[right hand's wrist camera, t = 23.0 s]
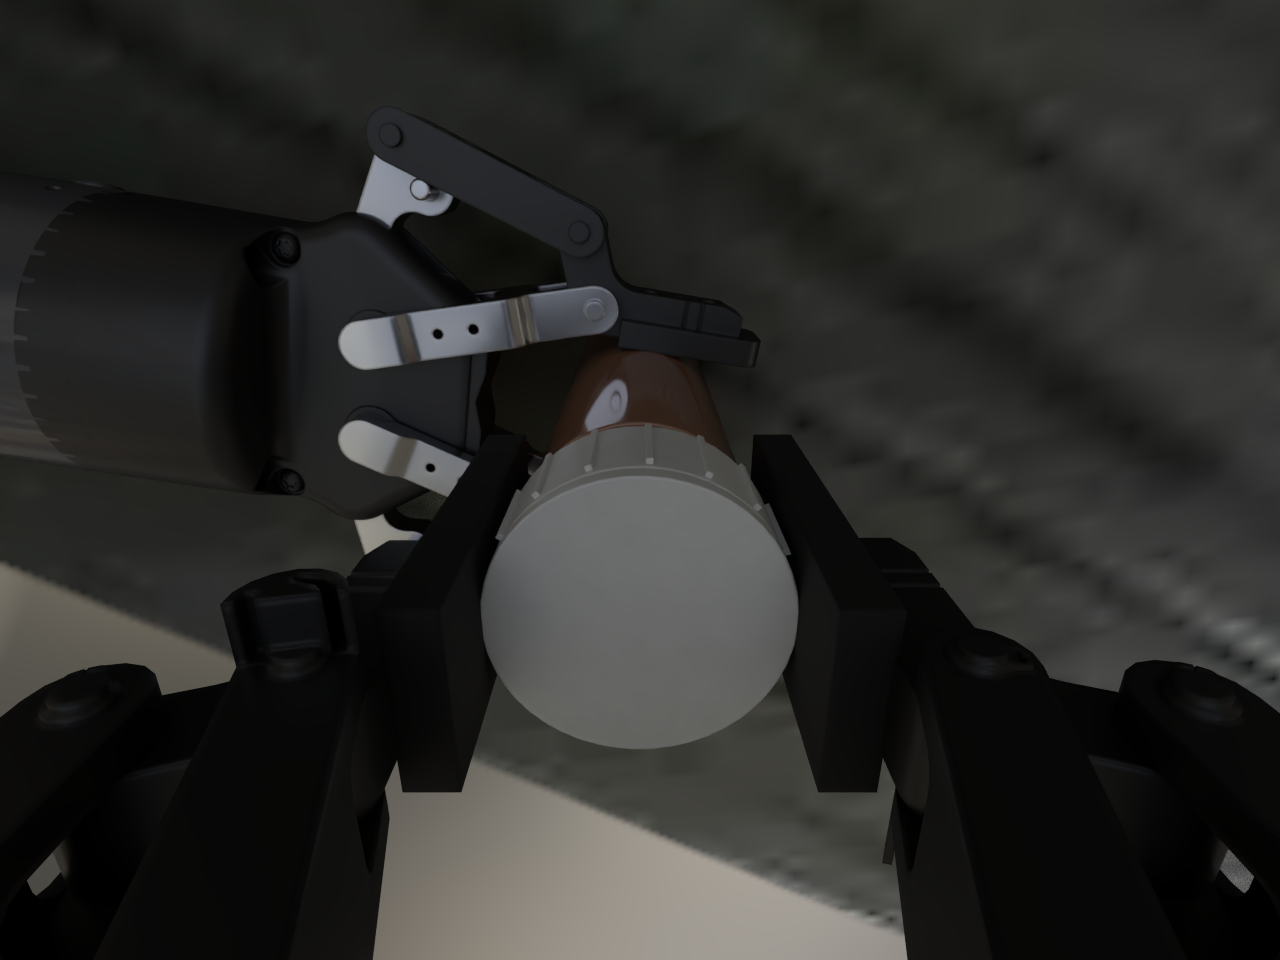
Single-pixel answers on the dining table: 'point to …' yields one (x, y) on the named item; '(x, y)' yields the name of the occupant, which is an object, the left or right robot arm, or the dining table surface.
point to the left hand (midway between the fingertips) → (731, 431)
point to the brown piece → (636, 396)
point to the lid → (639, 591)
